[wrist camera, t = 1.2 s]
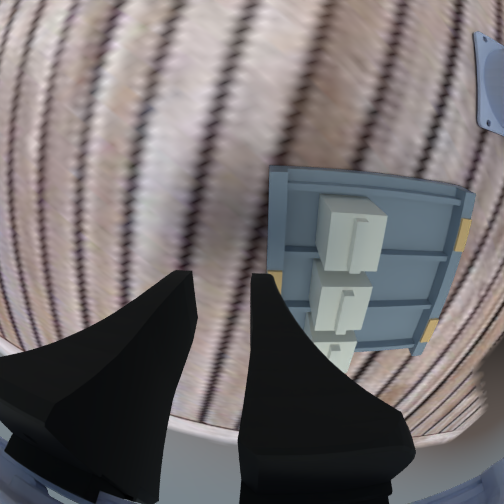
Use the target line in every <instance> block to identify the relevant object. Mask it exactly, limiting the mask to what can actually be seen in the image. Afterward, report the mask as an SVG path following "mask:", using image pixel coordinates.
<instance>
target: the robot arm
mask: <svg viewBox="0 0 504 504" xmlns="http://www.w3.org/2000/svg"><path fill="white" fill-rule="evenodd" d="M483 39H484V40H483ZM484 41H485V42H484ZM474 42H475V51H476V62H477V81H478V115H477V121H478V124H479V126H480V127H482V128H484V129H487V130H489V131H492V132H494V133H497V134H499V135H502V136H504V46H503V45H501V44H500V43H498V42H496V41H495V40H493V39H491V38H490V37H488V36H486V35H484V34H483V33H481V32H479V31H477V32H474ZM487 122H488V125H487ZM197 319H198V315H197V307H196V300H195V292H194V283H193V275H192V271H182V270H175V271H173V272H172V273H170V274H169V275H167V276H166V277H165V278H163V279H162V280H160V281H159V282H158V283H156V284H155V285H154V286H152V287H151V288H150V289H148V290H147V291H145V292H144V293H143V294H141V295H140V296H139V297H137V298H136V299H134V300H133V301H131V302H130V303H128V304H127V305H125V306H124V307H122V308H121V309H119V310H118V311H116V312H115V313H113V314H112V315H110V316H108V317H107V318H105V319H103V320H101V321H99V322H98V323H96V324H94V325H92V326H90V327H88V328H86V329H84V330H82V331H80V332H77V333H75V334H73V335H71V336H68V337H66V338H64V339H62V340H59V341H56V342H54V343H51V344H48V345H45V346H42V347H39V348H36V349H33V350H29V351H25V352H21V353H17V354H12V355H8V356H3V357H0V421H1V422H2V423H3V424H4V425H5V426H6V427H7V428H8V429H9V430H10V431H11V432H12V433H13V434H12V436H11V438H10V440H9V442H7V441H6V440H5V439H3V438H2V437H0V504H63V503H61V502H60V501H58V500H56V499H54V498H52V497H51V496H50V495H49V494H48V490H47V488H46V487H48V488H50V489H51V490H53V491H55V492H57V493H59V494H60V495H62V496H64V497H66V498H68V499H70V500H72V501H74V502H76V503H79V504H137V503H134V502H138V503H141V504H155V503H156V502H157V501H159V486H160V474H161V464H162V457H163V449H164V443H165V437H166V431H167V426H168V421H169V416H170V411H171V406H172V401H173V398H174V394H175V391H176V388H177V385H178V382H179V380H180V377H181V374H182V371H183V368H184V365H185V363H186V360H187V357H188V354H189V351H190V348H191V345H192V342H193V339H194V334H195V329H196V324H197ZM250 348H251V351H250V360H249V368H248V376H247V383H246V390H245V397H244V404H243V410H242V417H241V423H240V429H239V435H238V451H239V462H240V472H241V490H240V501H239V504H389V500H388V496H389V495H391V494H392V486H391V479H393V478H394V477H395V476H396V475H398V474H399V473H400V472H401V471H402V470H404V469H405V468H406V467H407V466H408V465H409V464H410V463H411V462H412V460H413V459H414V457H415V454H416V450H415V446H414V443H413V439H412V436H411V433H410V430H409V428H408V426H407V424H406V422H405V419H404V417H403V415H402V413H401V412H400V411H398V410H397V409H395V408H393V407H392V406H390V405H388V404H387V403H385V402H384V401H382V400H380V399H379V398H377V397H375V396H374V395H372V394H371V393H369V392H368V391H366V390H365V389H363V388H362V387H361V386H359V385H358V384H357V383H355V382H354V381H353V380H351V379H350V378H349V377H348V376H347V375H346V374H344V373H343V372H342V371H341V370H340V369H339V368H338V367H337V366H335V365H334V364H333V363H332V362H331V361H330V360H329V359H328V358H327V357H326V356H325V355H324V354H323V353H322V352H321V351H320V350H319V349H318V348H317V346H316V345H315V344H314V343H313V342H312V341H311V339H310V338H309V337H308V336H307V335H306V333H305V332H304V331H303V329H302V328H301V327H300V325H299V324H298V322H297V321H296V319H295V318H294V316H293V315H292V313H291V312H290V310H289V308H288V307H287V305H286V303H285V302H284V300H283V298H282V296H281V294H280V292H279V290H278V288H277V285H276V283H275V280H274V277H273V276H272V275H271V274H258V273H252V277H251V297H250ZM45 486H46V487H45ZM124 499H127V500H130V501H133V502H130V501H127V500H124ZM409 504H504V458H502V459H501V460H499V461H497V462H496V463H494V464H493V465H492V466H490V467H489V468H487V469H486V470H485V471H484V472H483V473H482V474H481V475H479V476H477V477H475V478H473V479H471V480H469V481H466V482H464V483H462V484H460V485H457V486H455V487H453V488H451V489H448V490H446V491H443V492H441V493H438V494H435V495H433V496H430V497H427V498H424V499H421V500H418V501H415V502H412V503H409Z"/></svg>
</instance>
